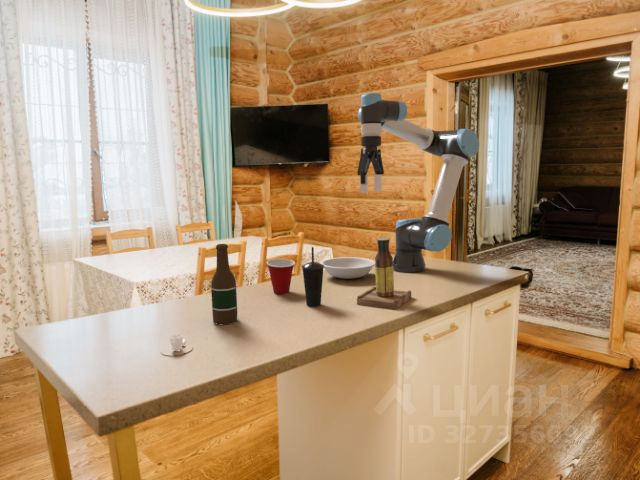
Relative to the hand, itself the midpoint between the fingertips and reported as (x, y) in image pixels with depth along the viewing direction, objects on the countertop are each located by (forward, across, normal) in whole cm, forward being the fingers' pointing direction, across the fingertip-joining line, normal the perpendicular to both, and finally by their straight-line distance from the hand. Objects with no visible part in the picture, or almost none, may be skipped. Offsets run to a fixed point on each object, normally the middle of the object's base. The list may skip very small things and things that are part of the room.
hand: (371, 192), depth 182 cm
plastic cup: (+37, +25, -26) cm, 52 cm away
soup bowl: (+37, -8, -14) cm, 40 cm away
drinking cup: (+37, +34, -7) cm, 51 cm away
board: (+37, +19, +13) cm, 43 cm away
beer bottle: (+37, +61, -23) cm, 75 cm away
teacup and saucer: (+37, +82, -17) cm, 92 cm away
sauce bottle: (+35, +19, +13) cm, 42 cm away
